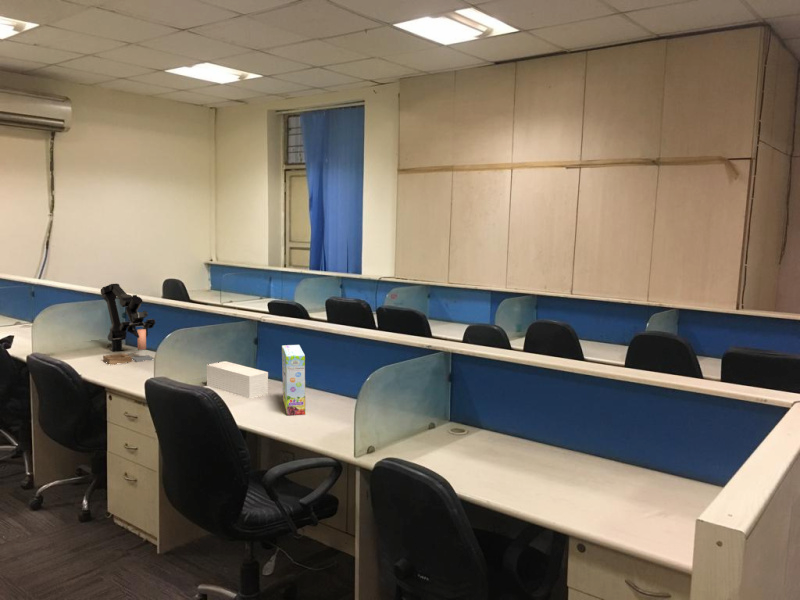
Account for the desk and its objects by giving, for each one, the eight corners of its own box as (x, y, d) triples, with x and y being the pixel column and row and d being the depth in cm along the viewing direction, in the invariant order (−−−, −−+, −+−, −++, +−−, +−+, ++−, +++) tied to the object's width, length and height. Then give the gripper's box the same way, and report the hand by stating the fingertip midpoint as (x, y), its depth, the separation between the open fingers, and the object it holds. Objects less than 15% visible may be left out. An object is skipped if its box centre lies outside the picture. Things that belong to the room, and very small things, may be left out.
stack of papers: (207, 386, 304) (206, 364, 303) (225, 382, 312) (225, 361, 311) (249, 399, 284) (249, 376, 283) (268, 394, 293) (268, 372, 291)
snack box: (280, 401, 282) (281, 344, 279) (300, 400, 284) (300, 344, 281) (285, 416, 261) (285, 355, 258) (306, 415, 264) (306, 354, 260)
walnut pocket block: (103, 361, 349) (103, 355, 348) (125, 358, 356) (124, 353, 356) (109, 365, 340) (109, 359, 340) (131, 362, 347) (131, 357, 347)
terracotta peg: (135, 349, 354) (135, 329, 353) (142, 347, 358) (141, 328, 357) (141, 350, 352) (141, 330, 351) (148, 348, 356) (147, 329, 355)
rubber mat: (130, 358, 356) (130, 357, 356) (148, 356, 363) (148, 355, 362) (136, 361, 349) (136, 360, 348) (154, 359, 355) (154, 358, 355)
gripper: (121, 307, 348) (130, 330, 342) (153, 304, 361) (163, 326, 355) (115, 319, 354) (124, 342, 348) (147, 316, 368) (157, 338, 362)
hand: (142, 336), depth 353 cm, fingers closed on terracotta peg, 4 cm apart
